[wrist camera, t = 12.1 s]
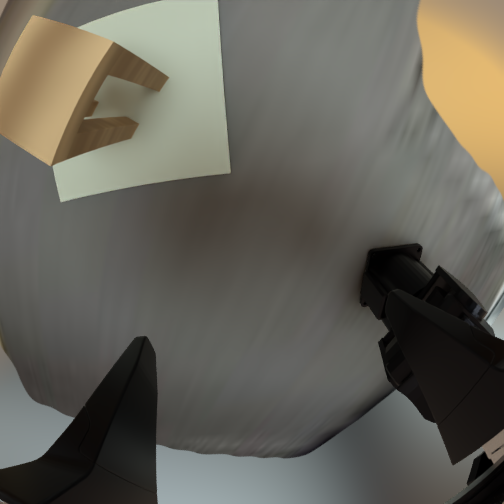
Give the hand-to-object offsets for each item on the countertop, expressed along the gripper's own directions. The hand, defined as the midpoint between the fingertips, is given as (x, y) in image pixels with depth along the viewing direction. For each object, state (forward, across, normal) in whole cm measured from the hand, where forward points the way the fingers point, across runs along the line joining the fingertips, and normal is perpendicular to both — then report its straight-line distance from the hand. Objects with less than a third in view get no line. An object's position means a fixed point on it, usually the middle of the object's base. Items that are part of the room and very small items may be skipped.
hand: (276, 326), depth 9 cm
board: (+14, +7, -10) cm, 18 cm away
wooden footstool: (+13, +7, -10) cm, 18 cm away
